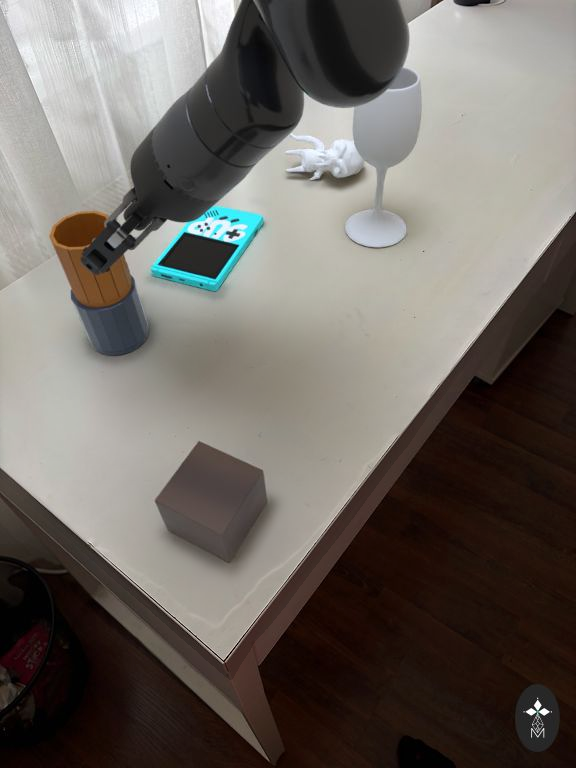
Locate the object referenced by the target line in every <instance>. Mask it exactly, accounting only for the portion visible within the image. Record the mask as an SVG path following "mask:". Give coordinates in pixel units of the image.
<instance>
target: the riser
mask: <svg viewBox="0 0 576 768" xmlns="http://www.w3.org/2000/svg"><path fill="white" fill-rule="evenodd" d="M154 503H155V505H156V507H157V510H158V512H159V514H160V516H161V519H162V521H163V523H164V525H165V528H166V530H167V531H168V532H170V533H172V534H174V535H176V536H177V537H179V538H182V539H183V540H186V541H187V542H189V543H190V544H193V545H195V546H197V547H198V548H201V549H202V550H204V551H206V552H208V553H210V554H212V555H214V556H215V557H217V558H219V559H221V560H223V561H225V562H227V563H229V564H230V563H231V562H232V560H233V559H234V557H235V555H236V554H237V552H238V551H239V549H240V547H241V546H242V544H243V542H244V541H245V539H246V537H247V535H248V534H249V532H250V531H251V529H252V528H253V526H254V524H255V523H256V521H257V519H258V518H259V516H260V514H261V513H262V511H263V510H264V508H265V506H266V505H267V503H268V496H267V488H266V479H265V473H264V470H263V469H261V468H260V467H257V466H255V465H252V464H250V463H248V462H247V461H244V460H242V459H239V458H237V457H235V456H233V455H230V454H229V453H226V452H225V451H223V450H220V449H217V448H216V447H213V446H211V445H209V444H207V443H204V442H202V441H200V440H198V441H197V443H196V444H195V445H194V446H193V448H192V449H191V451H190V452H189V453H188V454H187V456H186V457H185V459H183V462H182V463H181V464H180V466H179V467H178V468H177V470H175V472H174V474H173V475H172V476H171V477H170V479H169V480H168V481H167V482H166V484H165V486H164V487H163V488H162V489H161V491H160V492H159V494H158V495H157V496H156V498H155V499H154Z"/></svg>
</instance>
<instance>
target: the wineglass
mask: <svg viewBox="0 0 576 768" xmlns="http://www.w3.org/2000/svg"><path fill="white" fill-rule="evenodd" d="M421 85H422V83H421V77H420V75H419V73H418V72H417V71H415V70H414V69H412V68H410V67H408V66H405V65H404V66H403V68H402V70H401V72H400V74H399V75H398V77H397V78H396V80H395V81H394V83H393V84H392V85H391V86H390V87H389V88H388V89H387V90H386V91H385V92H384V93H383V94H382V95H380V96H379V97H377V98H376V99H374V100H373V101H371V102H369V103H366V104H364V105H361V106H357V107H353V116H352V140H354V145H355V147H356V150H357V152H358V153H359V155H360V156H361V157H362V158H363V159H364V160H365V163H367V164H368V165H370V166H372V167H374V168H375V170H376V187H375V196H374V202H373V203H374V204H373V208H372V209H371V208H370V209H365V210H361V211H359V212H356V213H354V214H353V215H351V216H350V217H349V218H348V219H347V221H346V223H345V225H344V230H345V233H346V234H347V236H348V237H349V239H350V240H352V241H353V242H355V243H356V244H358V245H360V246H363V247H369V248H385V247H390V246H393V245H396V244H398V243H400V241H402V240H403V239H404V237H405V236H406V235H407V231H408V227H407V224H406V222H405V220H404V219H403V218H402V217H401V216H399V215H398V214H395V212H391V211H389V210H385V209H383V196H384V187H385V180H386V175H387V171H388V170H389V169H390V168H392V167H395V166H397V165H400V163H402V162H403V161H405V160H406V159H407V158H408V156H409V155H410V154H411V153H412V152H413V150H414V148H415V146H416V144H417V141H418V138H419V134H420V130H421V129H420V128H421V123H422V109H423V108H422V107H423V103H422V102H423V101H422V99H423V98H422V86H421Z"/></svg>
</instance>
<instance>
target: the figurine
mask: <svg viewBox="0 0 576 768" xmlns="http://www.w3.org/2000/svg"><path fill="white" fill-rule="evenodd" d="M288 136H289V137H290V138H291V139H293V140H295V141H297V142H304V143H308V144H310V145H312V146H313V147H314V148H297V149H291V150H286V151H284V154H285V155H289V156H290V155H293V156H299V157H301V158H300V162H301V165H299V166H296V167H291V168H286V170H285V172H286V173H312V172H314V171H315V172H314V174H313V176H312V177H310V178H309V181H315V180H319V179H321V177H322V174H324V173H325V171H330V172H331V174H332V176H334V178H337V179H339V178H346V177H350V176H353V175H355V176H356V175H357V174H358V173H359V172H360V171H361V170H362V168H363V167H364V164H365V163H366V161H365V160H364V159H363V158H362V157H361V156H360V155H359V153H358V152H357V150H356V147H355V145H354V140H353V139H352V140H350V139H342V138H341V139H336V140H334V141H333V142H332V143H331V144H330V147H329V149H326V147H325V144H324V142H322V141H321V140H320V139H318V138H316V137H314V136H313V135H307V134H306V135H295V134H294V133H293V131H292V132H291V133H290V134H289V135H288Z"/></svg>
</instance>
